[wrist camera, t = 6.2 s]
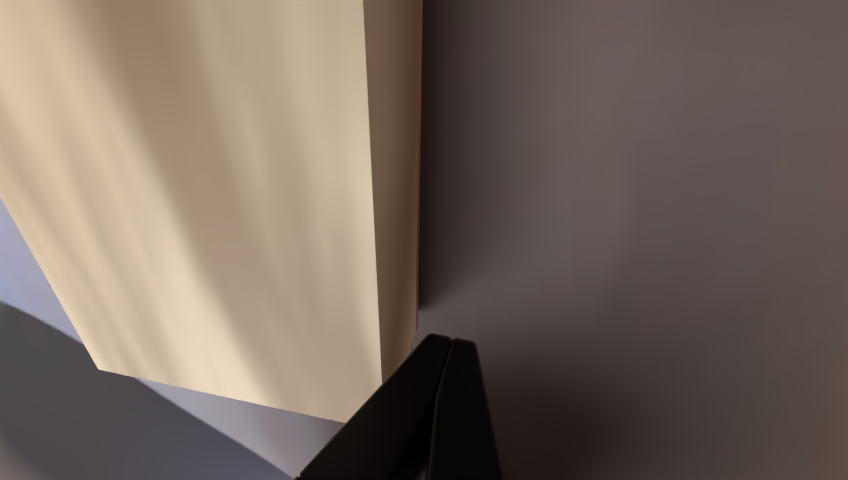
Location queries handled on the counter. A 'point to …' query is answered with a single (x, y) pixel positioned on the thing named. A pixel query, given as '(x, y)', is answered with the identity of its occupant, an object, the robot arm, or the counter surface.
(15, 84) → the beige flat block
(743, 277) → the counter surface
